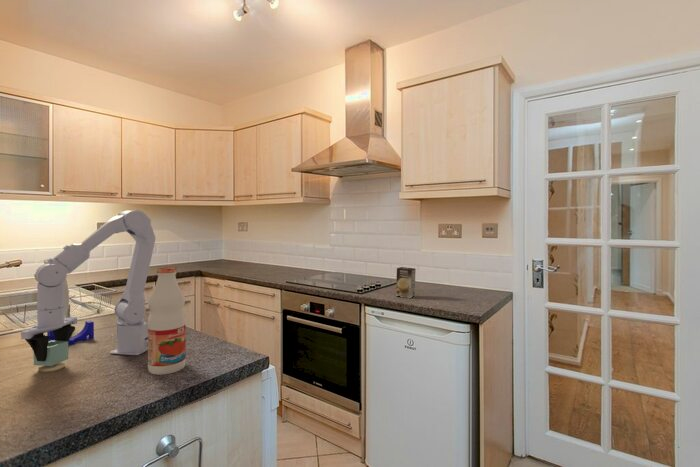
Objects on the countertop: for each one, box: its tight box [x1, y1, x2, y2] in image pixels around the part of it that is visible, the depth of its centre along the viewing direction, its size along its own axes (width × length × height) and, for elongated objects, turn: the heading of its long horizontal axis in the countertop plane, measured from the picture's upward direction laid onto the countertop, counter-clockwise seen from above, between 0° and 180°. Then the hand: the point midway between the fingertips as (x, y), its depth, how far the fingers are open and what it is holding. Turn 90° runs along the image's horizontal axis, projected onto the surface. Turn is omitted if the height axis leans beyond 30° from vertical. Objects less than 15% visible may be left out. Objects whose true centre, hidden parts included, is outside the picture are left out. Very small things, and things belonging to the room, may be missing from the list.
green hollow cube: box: [33, 340, 69, 366], centre depth 100 cm, size 5×5×5 cm
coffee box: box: [395, 266, 417, 299], centre depth 202 cm, size 9×6×16 cm
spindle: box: [37, 346, 66, 373], centre depth 100 cm, size 6×6×6 cm
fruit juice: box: [147, 266, 187, 376], centre depth 101 cm, size 9×9×28 cm
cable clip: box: [46, 319, 95, 346], centre depth 121 cm, size 12×4×6 cm, turn 143°
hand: (51, 356), depth 100 cm, fingers closed on green hollow cube, 5 cm apart
